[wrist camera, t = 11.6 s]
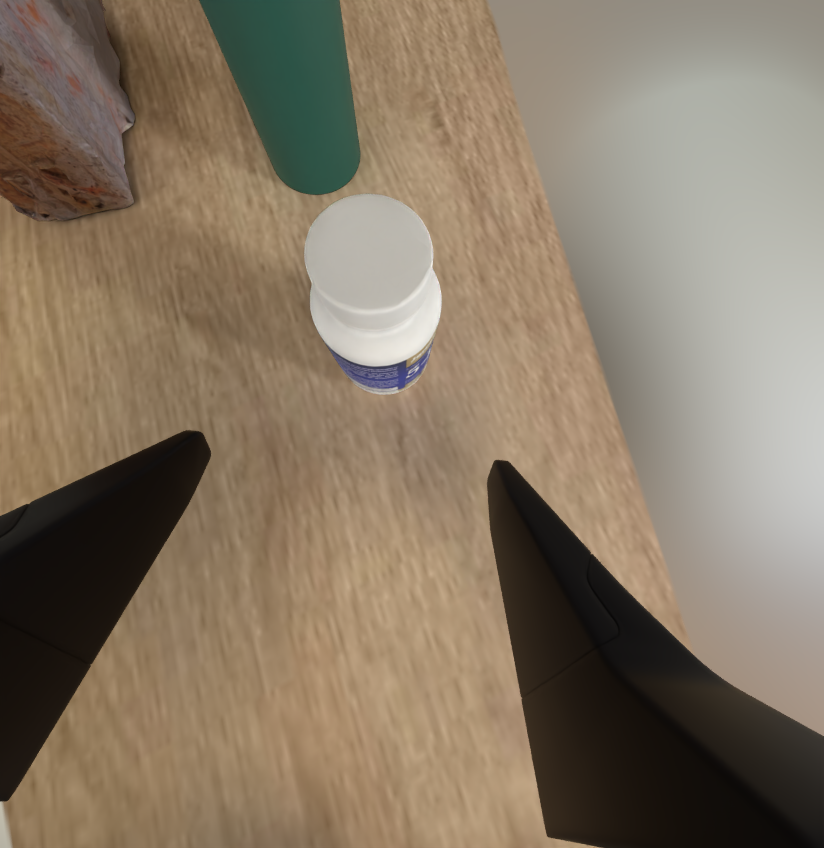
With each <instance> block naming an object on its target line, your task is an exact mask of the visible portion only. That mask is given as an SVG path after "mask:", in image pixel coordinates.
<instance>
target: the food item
mask: <svg viewBox="0 0 824 848" xmlns="http://www.w3.org/2000/svg"><path fill="white" fill-rule="evenodd" d="M103 11H105V8H104V6H103V4H102V0H0V195H1V196H3V197H4V198H6V199H7V200H9V201H10V202H11V203H12V204H13V206H14V207H15V209H16V210H17V211H18V212H20V213H22V214H25V215H27V216H29V217H31V218H33V219H35V220H37V221H49V220H54V219H58V220H69V219H74V218H77V217H79V216H82V215H86V214H91V213H95V212H100V211H104V210H109V209H121V208H125V207H129V206H130V205H131V204H132V203H134V200H133V197H132V193H131V190H130V186H129V182H128V179H127V175H126V172H125V169H124V164H125V159H124V151H123V143H122V136H121V134H122V133H123V132H124V131H126V130H127V129H128V128H130V127H131V126H133V125H134V124H133V123H134V120H135V114H134V113H133V111H132V110H131V108H130V104H129V100H128V96H127V94H126V93H125V92H124V90H123V89H122V88H121V86H120V85H119V78H120V60H119V59H118V57H117V55H116V53H115V51H114V49H113V47H112V46H111V44H110V42H109V40H110V34H109V32H108V29H107V27H106V24H105V19H104V12H103Z"/></svg>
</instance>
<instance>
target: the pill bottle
mask: <svg viewBox="0 0 824 848" xmlns="http://www.w3.org/2000/svg"><path fill="white" fill-rule="evenodd" d="M304 258H305V265H306V269H307V273H308V275H309V278H310V280H311V282H312V286H311V290H310V309H311V314H312V318H313V321H314V324H315V326H316V328H317V331H318V333H319V334H320V336H321V338H322V339H323V341H324V342H325V344H326V346H327V347H328V348H329V350H330V351H331V353H332V354H333V356H334V358H335V359H336V361H337V362H338V364H339V365H340V367H341V368H342V370H343V371H344V373H345V374H346V375H347V377H348V378H349V379H350V380H351V381H352V382H353V383H354V384H355V385H357V386H358V387H360V388H361V389H363V390H365V391H368V392H370V393H374V394H381V395H388V394H394V393H398V392H401V391H403V390H405V389H407V388H409V387H410V386H412V385H413V384H414V383H415V382H416V381H417V380H418V379H419V378H420V376H421V375H422V373H423V372H424V370H425V368H426V365H427V362H428V359H429V355H430V351H431V347H432V344H433V340H434V337H435V333H436V330H437V326H438V323H439V319H440V314H441V305H442V300H441V290H440V285H439V282H438V279H437V277H436V274H435V272H434V270H433V268H432V266H433V247H432V241H431V238H430V235H429V233H428V230H427V228H426V227H425V225H424V223H423V221H422V220H421V219H420V218H419V216H418V215H417V214H416V213H415V212H414V211H413V210H412V209H411V208H409V207H408V206H407V205H405V204H404V203H402V202H400V201H398V200H396V199H393V198H390V197H387V196H384V195H379V194H358V195H352V196H349V197H345V198H342V199H340V200H338V201H336V202H334V203H333V204H331V205H330V206H328V207H327V208H326V209H325V210H324V211H322V212H321V213H320V215H319V216H318V217H317V218H316V219H315V221H314V222H313V224H312V226H311V228H310V230H309V232H308V235H307V238H306V242H305V249H304Z"/></svg>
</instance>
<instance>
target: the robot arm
mask: <svg viewBox="0 0 824 848" xmlns="http://www.w3.org/2000/svg"><path fill="white" fill-rule="evenodd" d="M210 457H211V450H210V448H209V446H208V443H207V441H206V439H205V437H204V435H203V433H201V432H199V431H191V430H186V431H183V432H181V433H179V434H177V435H174V436H172V437H170V438H168V439H166V440H164V441H161V442H159V443H157V444H155V445H153V446H151V447H149V448H146V449H144V450H142V451H140V452H138V453H136V454H133V455H131V456H129V457H127V458H125V459H123V460H121V461H118V462H116V463H114V464H112V465H110V466H108V467H105V468H103V469H101V470H99V471H97V472H95V473H93V474H90V475H88V476H86V477H84V478H82V479H80V480H77V481H75V482H73V483H71V484H69V485H67V486H65V487H62V488H60V489H58V490H56V491H54V492H52V493H49V494H47V495H45V496H43V497H41V498H39V499H37V500H34V501H32V502H31V503H30V504H26V505H23V506H21V507H19V508H17V509H15V510H13V511H11V512H8V513H6V514H4V515H2V516H0V801H8V800H9V799H10V797H11V796H12V794H13V793H14V792H15V790H16V789H17V787H18V786H19V784H20V782H21V781H22V779H23V778H24V776H25V774H26V773H27V771H28V769H29V768H30V766H31V764H32V763H33V761H34V759H35V758H36V756H37V754H38V753H39V751H40V749H41V748H42V746H43V744H44V743H45V741H46V739H47V738H48V736H49V734H50V733H51V731H52V730H53V728H54V726H55V725H56V723H57V721H58V720H59V718H60V716H61V715H62V713H63V711H64V710H65V708H66V706H67V705H68V703H69V701H70V700H71V698H72V696H73V695H74V693H75V691H76V690H77V688H78V687H79V685H80V683H81V682H82V680H83V678H84V677H85V675H86V673H87V672H88V670H89V668H90V667H91V665H90V664H92V663H93V661H94V660H95V658H96V656H97V655H98V653H99V651H100V650H101V648H102V646H103V645H104V643H105V641H106V640H107V638H108V637H109V635H110V633H111V632H112V630H113V628H114V627H115V625H116V623H117V622H118V620H119V618H120V617H121V615H122V613H123V612H124V610H125V608H126V607H127V605H128V603H129V602H130V600H131V599H132V597H133V595H134V594H135V592H136V590H137V589H138V587H139V585H140V584H141V582H142V580H143V579H144V577H145V575H146V574H147V572H148V570H149V569H150V567H151V565H152V564H153V562H154V561H155V559H156V557H157V556H158V554H159V552H160V551H161V549H162V547H163V546H164V544H165V542H166V541H167V539H168V537H169V536H170V534H171V532H172V531H173V529H174V527H175V526H176V524H177V522H178V521H179V519H180V518H181V516H182V514H183V513H184V511H185V509H186V508H187V506H188V504H189V502H190V500H191V498H192V496H193V494H194V492H195V490H196V488H197V486H198V484H199V482H200V479H201V477H202V475H203V473H204V471H205V469H206V466H207V464H208V462H209V460H210ZM487 489H488V505H489V520H490V531H491V537H492V542H493V548H494V553H495V559H496V564H497V569H498V575H499V580H500V586H501V591H502V596H503V602H504V607H505V613H506V618H507V623H508V629H509V634H510V640H511V645H512V651H513V656H514V661H515V667H516V672H517V678H518V683H519V688H520V694H521V697H522V705H523V711H524V716H525V722H526V727H527V733H528V738H529V743H530V749H531V754H532V760H533V765H534V770H535V776H536V781H537V787H538V792H539V798H540V803H541V808H542V814H543V819H544V824H545V829H546V833H547V837H550V838H555V839H560V840H565V841H571V842H576V843H581V844H586V845H591V846H597V847H602V848H824V736H822V735H820V734H818V733H817V732H815V731H813V730H811V729H809V728H807V727H806V726H804V725H802V724H800V723H799V722H797V721H795V720H793V719H791V718H790V717H788V716H786V715H784V714H782V713H781V712H779V711H777V710H775V709H773V708H772V707H770V706H768V705H766V704H764V703H763V702H761V701H759V700H757V699H755V698H754V697H752V696H750V695H748V694H746V693H745V692H743V691H741V690H739V689H738V688H736V687H734V686H733V685H731V684H729V683H728V682H727V681H725V680H724V679H722V678H721V677H719V676H718V675H717V674H715V673H714V672H713V671H711V670H710V669H709V668H708V667H707V666H705V665H704V664H703V663H702V662H701V661H699V660H698V659H697V658H696V657H695V656H694V655H693V654H692V653H691V652H690V651H689V650H688V649H687V648H686V647H685V646H684V645H683V644H681V643H680V642H679V641H678V640H677V639H676V638H675V637H674V636H673V635H672V634H671V633H670V632H669V631H668V630H667V629H666V628H665V627H664V626H663V625H662V624H661V623H660V622H659V621H658V620H657V619H655V618H654V617H653V616H652V615H651V614H650V613H649V612H648V611H647V610H646V609H645V608H644V607H643V606H642V605H641V604H640V603H639V602H638V601H637V600H636V599H635V598H634V597H633V596H632V595H631V594H630V593H629V592H628V591H627V590H626V589H625V588H624V587H623V586H622V585H621V584H620V583H619V582H618V581H617V580H616V579H615V578H614V577H613V576H612V575H611V574H610V572H609V571H608V570H607V569H606V568H605V567H604V566H603V565H602V564H601V563H600V562H599V561H598V559H597V558H596V557H595V556H594V555H593V554H591V552H590V551H589V550H588V549H587V547H586V546H585V545H584V544H583V543H582V542H581V541H580V540H579V539H578V537H577V536H576V535H575V534H574V533H573V532H572V531H571V530H570V529H569V528H568V526H567V525H566V524H565V523H564V522H563V521H562V520H561V519H560V518H559V516H558V515H557V514H556V513H555V512H554V511H553V510H552V509H551V508H550V507H549V505H548V504H547V503H546V502H545V501H544V500H543V499H542V498H541V497H540V495H539V494H538V493H537V492H536V491H535V490H534V489H533V488H532V487H531V486H530V484H529V483H528V482H527V481H526V480H525V479H524V478H523V477H522V476H521V474H520V473H519V472H518V471H517V470H516V469H515V468H514V467H513V466H512V464H511V463H510V462H508V461H503V460H495V461H494V463H493V465H492V468H491V470H490V473H489V476H488V480H487Z"/></svg>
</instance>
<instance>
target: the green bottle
mask: <svg viewBox="0 0 824 848" xmlns="http://www.w3.org/2000/svg"><path fill="white" fill-rule="evenodd" d="M199 1H200V3H201V6H202V8H203V10H204V12H205V15H206V17H207V19H208V21H209V24H210V26H211V28H212V30H213V33H214V35H215V37H216V39H217V42H218V44H219V46H220V48H221V51H222V53H223V55H224V57H225V60H226V62H227V64H228V66H229V69H230V71H231V73H232V75H233V78H234V80H235V82H236V84H237V87H238V89H239V91H240V93H241V95H242V98H243V100H244V102H245V104H246V107H247V109H248V111H249V113H250V116H251V118H252V120H253V122H254V125H255V127H256V129H257V131H258V134H259V136H260V138H261V140H262V143H263V145H264V147H265V149H266V152H267V154H268V156H269V158H270V161H271V163H272V165H273V167H274V170H275V172H276V173H277V175H278V176H279V178H280V179H281V180H282V181H283V182H284V183H285V184H287V185H288V186H289V187H291V188H293V189H294V190H297V191H299V192H302V193H306V194H315V195H319V194H326V193H330V192H333V191H336V190H338V189H340V188H341V187H343V186H344V185H345V184H347V183H348V182H349V181H350V180H351V179H352V177H353V176H354V174H355V173H356V171H357V168H358V165H359V162H360V147H359V140H358V132H357V125H356V118H355V110H354V103H353V96H352V88H351V81H350V74H349V67H348V59H347V52H346V45H345V37H344V30H343V23H342V15H341V8H340V1H339V0H199Z"/></svg>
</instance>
